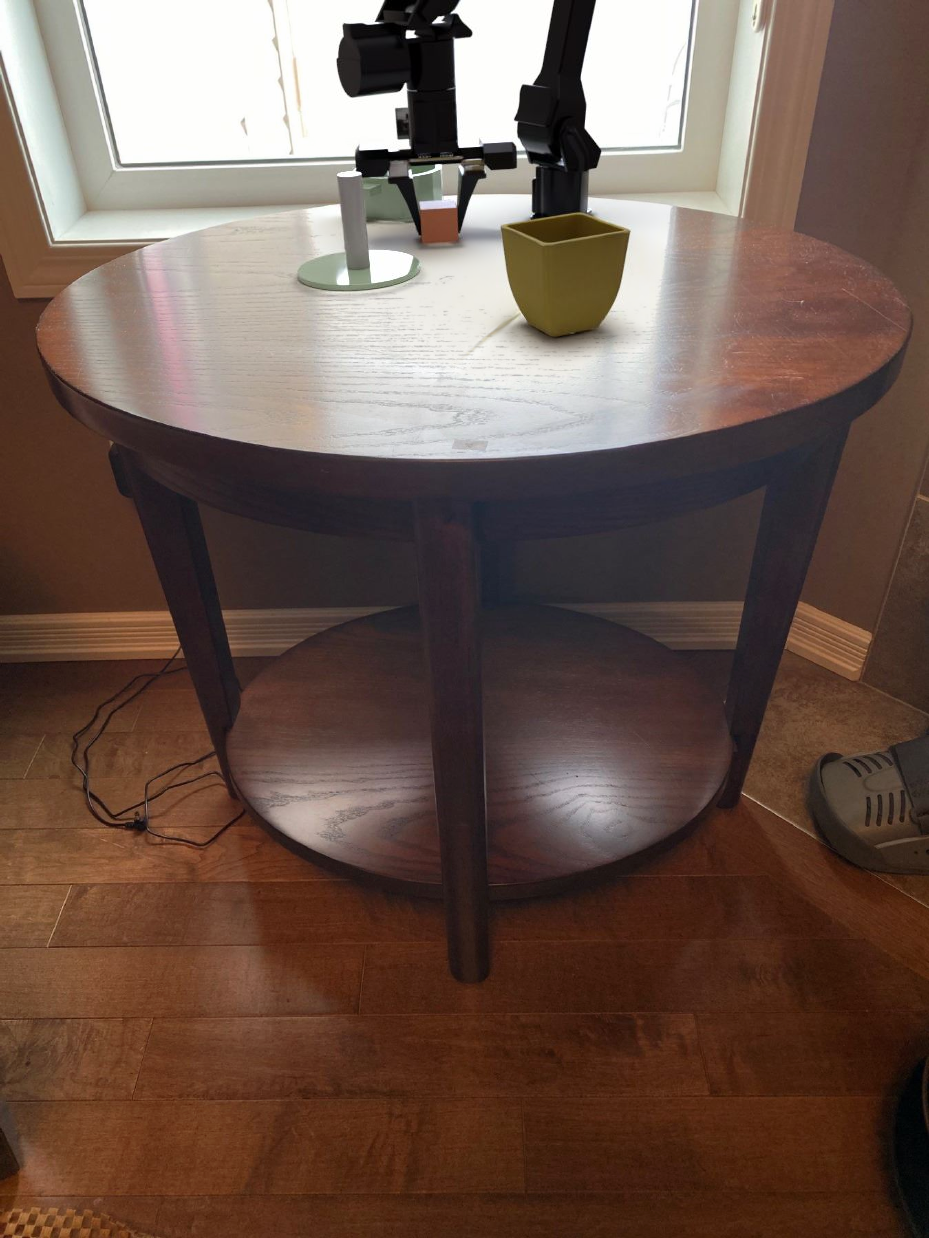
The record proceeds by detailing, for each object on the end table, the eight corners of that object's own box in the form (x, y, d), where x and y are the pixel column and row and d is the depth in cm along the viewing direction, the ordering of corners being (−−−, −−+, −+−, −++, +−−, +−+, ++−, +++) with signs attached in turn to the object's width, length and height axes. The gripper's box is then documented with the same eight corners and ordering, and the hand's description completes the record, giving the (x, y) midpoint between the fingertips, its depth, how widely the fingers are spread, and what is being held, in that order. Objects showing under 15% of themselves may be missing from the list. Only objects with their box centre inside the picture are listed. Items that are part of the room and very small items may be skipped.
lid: (441, 266, 104) (435, 164, 98) (382, 302, 94) (372, 191, 88) (340, 256, 109) (328, 159, 103) (274, 289, 99) (257, 184, 93)
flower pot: (499, 321, 88) (498, 223, 83) (577, 306, 91) (581, 210, 85) (543, 349, 82) (545, 244, 76) (626, 332, 84) (633, 230, 79)
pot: (466, 200, 131) (465, 158, 127) (407, 231, 118) (404, 184, 115) (390, 195, 135) (387, 154, 132) (325, 224, 122) (319, 179, 119)
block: (456, 237, 114) (454, 199, 112) (458, 246, 111) (457, 207, 108) (421, 239, 114) (418, 201, 112) (422, 248, 111) (420, 209, 108)
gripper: (505, 76, 109) (506, 214, 119) (350, 84, 109) (364, 222, 118) (517, 87, 101) (517, 235, 110) (348, 96, 100) (363, 245, 109)
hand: (439, 234), depth 112 cm, fingers closed on block, 4 cm apart
